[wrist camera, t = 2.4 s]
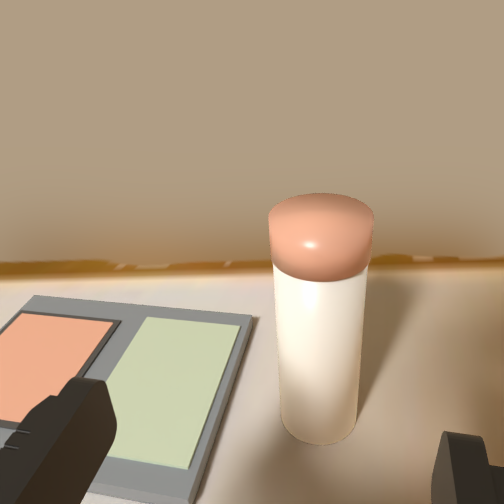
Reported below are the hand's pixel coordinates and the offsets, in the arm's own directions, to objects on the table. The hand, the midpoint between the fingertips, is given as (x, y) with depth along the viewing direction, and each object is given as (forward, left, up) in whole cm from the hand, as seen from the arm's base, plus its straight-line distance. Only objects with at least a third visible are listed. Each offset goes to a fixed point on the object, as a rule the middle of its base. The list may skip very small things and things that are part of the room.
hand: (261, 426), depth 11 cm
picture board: (+14, -12, -13) cm, 23 cm away
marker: (0, -12, -13) cm, 18 cm away
